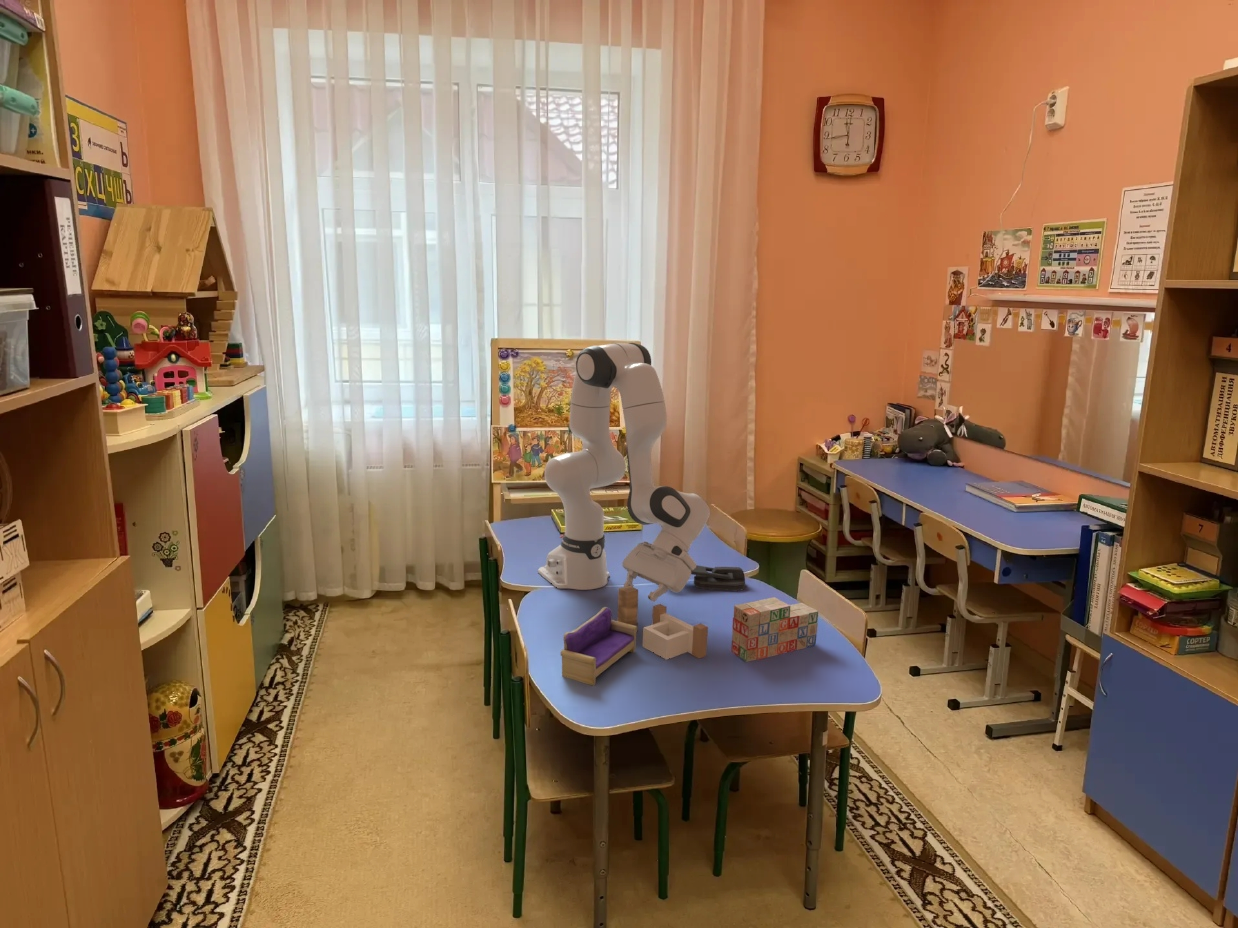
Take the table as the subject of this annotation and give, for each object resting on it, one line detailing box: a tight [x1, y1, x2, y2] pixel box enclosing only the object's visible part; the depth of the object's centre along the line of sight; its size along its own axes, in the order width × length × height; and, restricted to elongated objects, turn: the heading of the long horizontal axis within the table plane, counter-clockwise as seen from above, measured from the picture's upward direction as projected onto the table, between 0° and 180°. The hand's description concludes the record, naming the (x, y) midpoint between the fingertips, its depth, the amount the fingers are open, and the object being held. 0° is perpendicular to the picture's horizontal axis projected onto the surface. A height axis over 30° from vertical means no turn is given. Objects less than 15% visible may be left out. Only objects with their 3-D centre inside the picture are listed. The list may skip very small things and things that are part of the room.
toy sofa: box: [560, 606, 638, 686], centre depth 191 cm, size 21×9×10 cm, turn 151°
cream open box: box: [642, 603, 709, 660], centre depth 201 cm, size 17×9×8 cm, turn 40°
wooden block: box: [617, 586, 639, 631], centre depth 210 cm, size 4×4×11 cm
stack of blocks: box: [730, 596, 819, 663], centre depth 202 cm, size 21×6×12 cm, turn 118°
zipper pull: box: [691, 564, 746, 591], centre depth 243 cm, size 9×7×25 cm
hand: (638, 594), depth 211 cm, fingers open, 8 cm apart
